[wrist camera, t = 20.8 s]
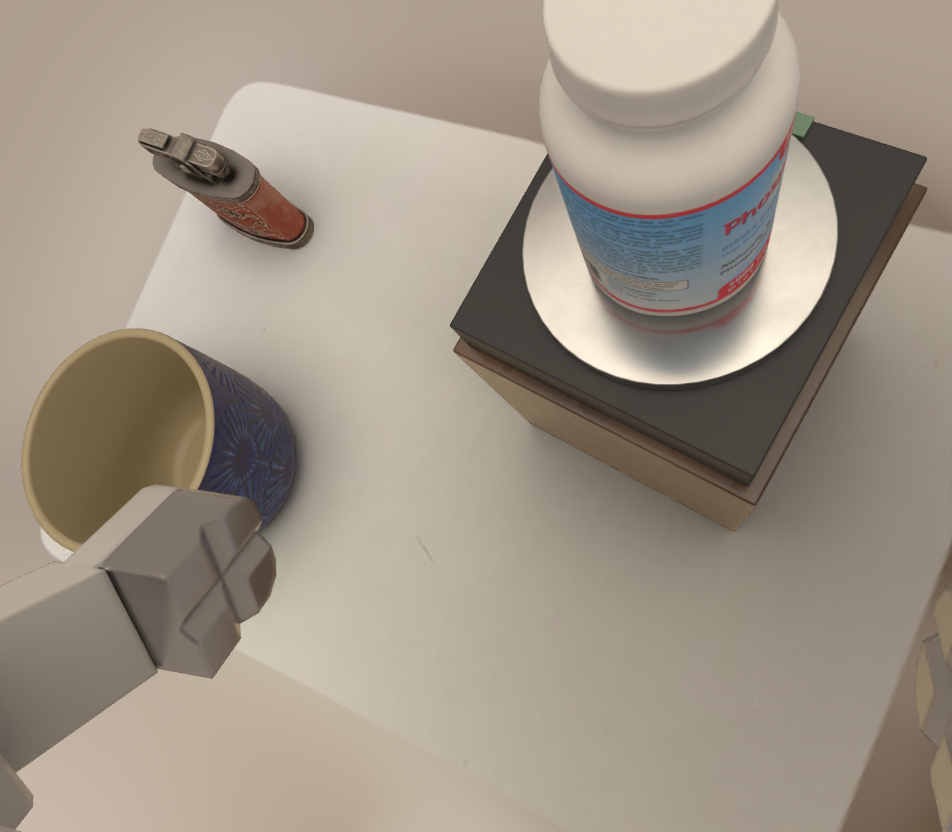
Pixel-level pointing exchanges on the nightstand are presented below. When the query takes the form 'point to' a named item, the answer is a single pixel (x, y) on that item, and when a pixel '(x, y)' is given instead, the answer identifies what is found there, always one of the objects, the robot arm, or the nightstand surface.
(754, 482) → the walnut riser
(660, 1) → the pill bottle
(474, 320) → the kitchen scale
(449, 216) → the nightstand surface
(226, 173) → the lighter
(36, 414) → the planter
